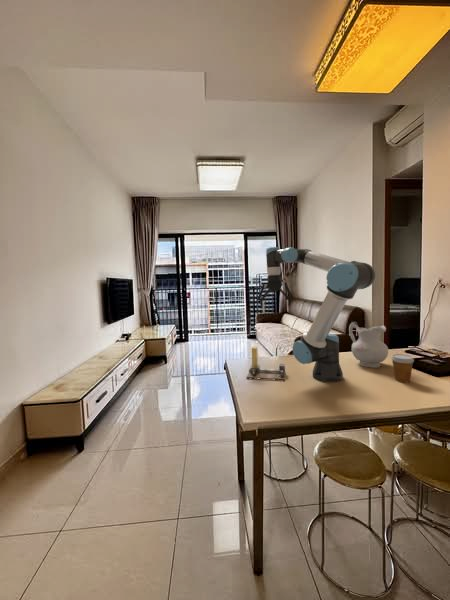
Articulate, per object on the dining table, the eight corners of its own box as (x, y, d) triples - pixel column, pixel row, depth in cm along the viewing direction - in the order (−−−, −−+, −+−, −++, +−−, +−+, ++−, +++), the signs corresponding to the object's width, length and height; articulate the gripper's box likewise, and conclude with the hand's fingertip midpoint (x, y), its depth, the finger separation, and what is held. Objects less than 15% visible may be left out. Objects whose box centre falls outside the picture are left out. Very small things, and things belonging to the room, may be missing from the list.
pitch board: (285, 372, 150) (285, 363, 150) (284, 380, 139) (284, 370, 138) (250, 371, 156) (249, 362, 155) (246, 378, 144) (246, 368, 144)
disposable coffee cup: (411, 377, 135) (411, 354, 134) (416, 384, 126) (416, 359, 126) (389, 375, 139) (389, 353, 138) (392, 382, 130) (392, 358, 130)
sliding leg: (260, 370, 153) (259, 346, 152) (258, 375, 145) (257, 350, 144) (251, 369, 154) (250, 346, 154) (249, 374, 146) (248, 350, 145)
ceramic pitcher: (343, 366, 160) (341, 326, 157) (352, 356, 174) (351, 319, 171) (384, 373, 146) (384, 329, 143) (391, 361, 160) (390, 321, 157)
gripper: (296, 273, 154) (297, 310, 155) (252, 276, 159) (254, 311, 160) (296, 273, 146) (298, 311, 147) (251, 276, 151) (253, 313, 152)
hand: (275, 311), depth 154 cm, fingers open, 13 cm apart
